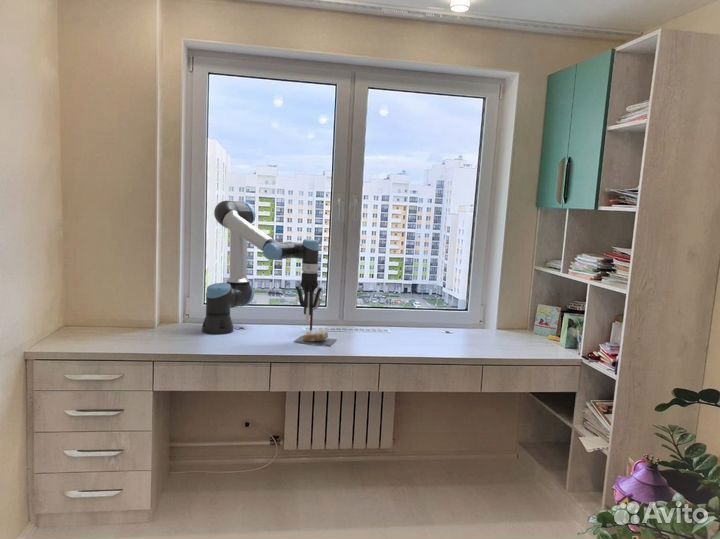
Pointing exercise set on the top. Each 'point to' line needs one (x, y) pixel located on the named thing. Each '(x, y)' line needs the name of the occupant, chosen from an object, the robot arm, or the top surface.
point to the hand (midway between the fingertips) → (307, 321)
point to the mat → (320, 342)
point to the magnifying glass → (313, 309)
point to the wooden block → (315, 336)
